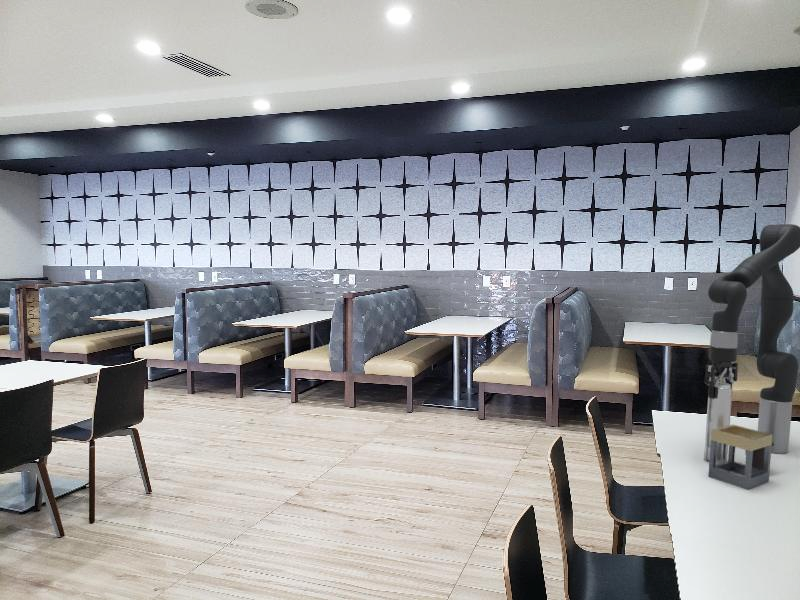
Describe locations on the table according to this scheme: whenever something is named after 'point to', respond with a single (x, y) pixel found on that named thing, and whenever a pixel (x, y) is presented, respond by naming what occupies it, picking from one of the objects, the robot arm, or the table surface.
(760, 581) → the table surface
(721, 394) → the silver metal cylinder
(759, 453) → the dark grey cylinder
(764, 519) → the table surface
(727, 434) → the collar stand
